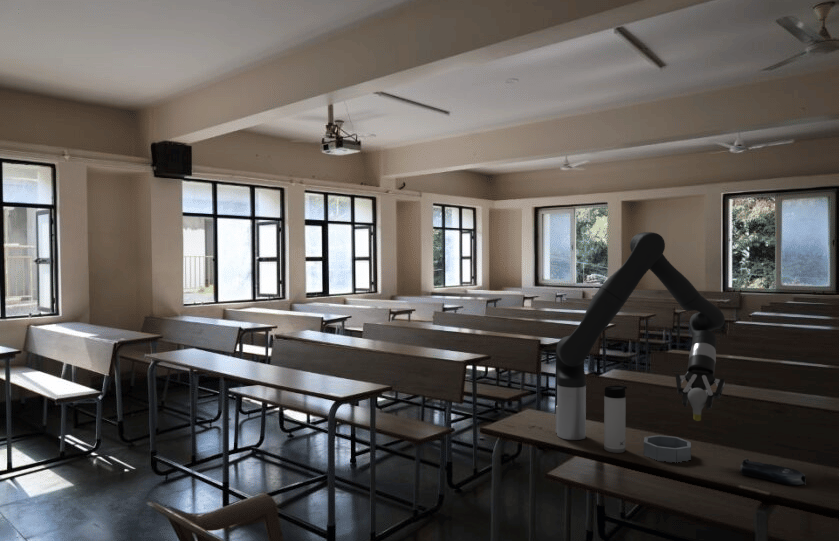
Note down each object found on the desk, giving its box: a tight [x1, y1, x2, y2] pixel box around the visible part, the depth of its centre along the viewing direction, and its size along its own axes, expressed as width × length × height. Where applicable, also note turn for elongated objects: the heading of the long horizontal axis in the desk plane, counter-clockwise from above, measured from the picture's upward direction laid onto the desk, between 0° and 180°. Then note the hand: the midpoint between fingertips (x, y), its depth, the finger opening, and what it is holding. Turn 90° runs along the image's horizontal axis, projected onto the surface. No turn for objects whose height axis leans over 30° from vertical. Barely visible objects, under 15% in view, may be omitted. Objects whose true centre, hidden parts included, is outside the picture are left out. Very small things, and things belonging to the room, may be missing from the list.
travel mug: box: [603, 384, 627, 454], centre depth 187 cm, size 6×7×20 cm
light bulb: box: [688, 388, 708, 422], centre depth 180 cm, size 5×6×10 cm
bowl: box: [643, 434, 692, 464], centre depth 182 cm, size 13×13×4 cm
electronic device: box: [739, 458, 807, 486], centre depth 164 cm, size 9×6×15 cm
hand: (696, 406), depth 179 cm, fingers closed on light bulb, 5 cm apart
